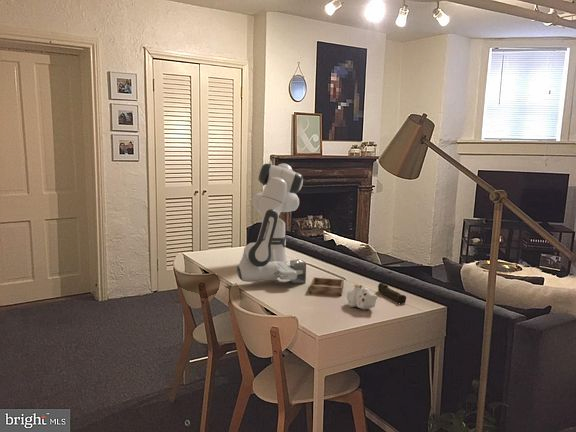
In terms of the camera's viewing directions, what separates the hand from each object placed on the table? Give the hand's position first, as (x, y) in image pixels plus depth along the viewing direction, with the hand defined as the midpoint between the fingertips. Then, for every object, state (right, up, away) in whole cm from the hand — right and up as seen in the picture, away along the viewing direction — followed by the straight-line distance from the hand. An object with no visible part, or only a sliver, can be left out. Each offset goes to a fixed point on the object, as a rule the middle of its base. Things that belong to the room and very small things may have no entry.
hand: (299, 269), depth 228 cm
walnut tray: (+12, -8, -11) cm, 18 cm away
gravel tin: (-1, -6, +1) cm, 6 cm away
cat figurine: (+24, -12, -34) cm, 43 cm away
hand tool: (+39, -10, -19) cm, 44 cm away
